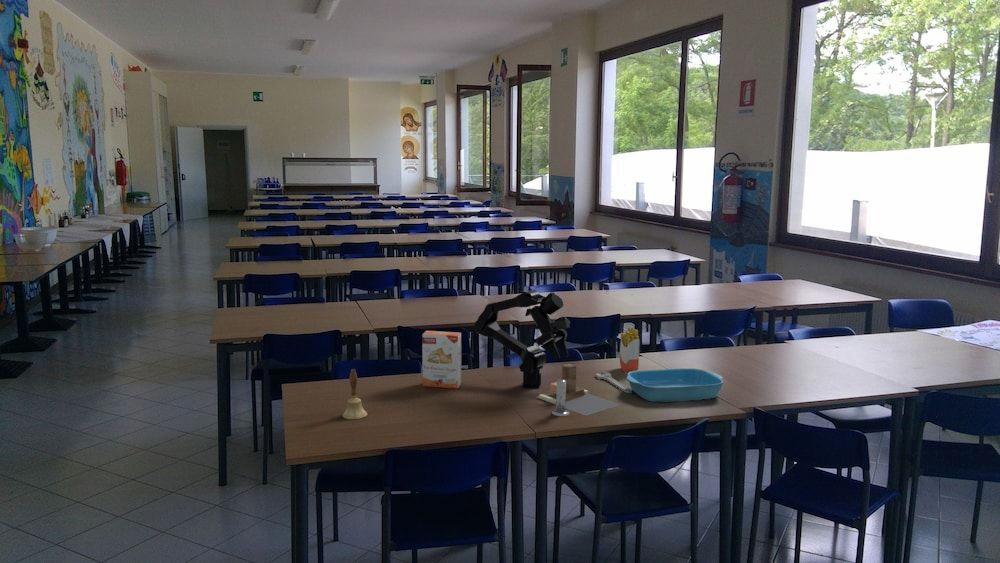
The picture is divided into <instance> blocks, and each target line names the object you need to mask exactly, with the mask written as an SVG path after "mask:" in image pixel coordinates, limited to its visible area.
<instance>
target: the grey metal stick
mask: <svg viewBox="0 0 1000 563" xmlns="http://www.w3.org/2000/svg"><path fill="white" fill-rule="evenodd" d="M556 382H557V392H556V405H555V409H552V411H551V414H552V415H553V416H556V417H567V416H570V410H569V409H566V380H564V379H562V378H559V379H558V378H557V379H556Z"/></svg>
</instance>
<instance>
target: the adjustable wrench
mask: <svg viewBox="0 0 1000 563" xmlns="http://www.w3.org/2000/svg"><path fill="white" fill-rule="evenodd" d="M596 377H597V378H596ZM595 378H596V379H597V380H600V379H604V380H603V381H605V380H607V381H606V382H608V381H609V382H610V383H609V382H608V383H609V384H611V383H612V384H613V385H612V384H611V385H612V386H614V385H615V386H616V388H617V387H618V388H619V389H618V388H617V389H618V390H620V389H621V390H622V392H623V391H624V392H623V393H627V394H629V393H631V394H633V390H632V388H629V387H628V386H626V385H624V384H623V383H622V382H620V381H618V380H616V379H615V378H614V377H612V373H610V372H607V371H601V373H595ZM615 386H614V387H615ZM621 390H620V391H621Z"/></svg>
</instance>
